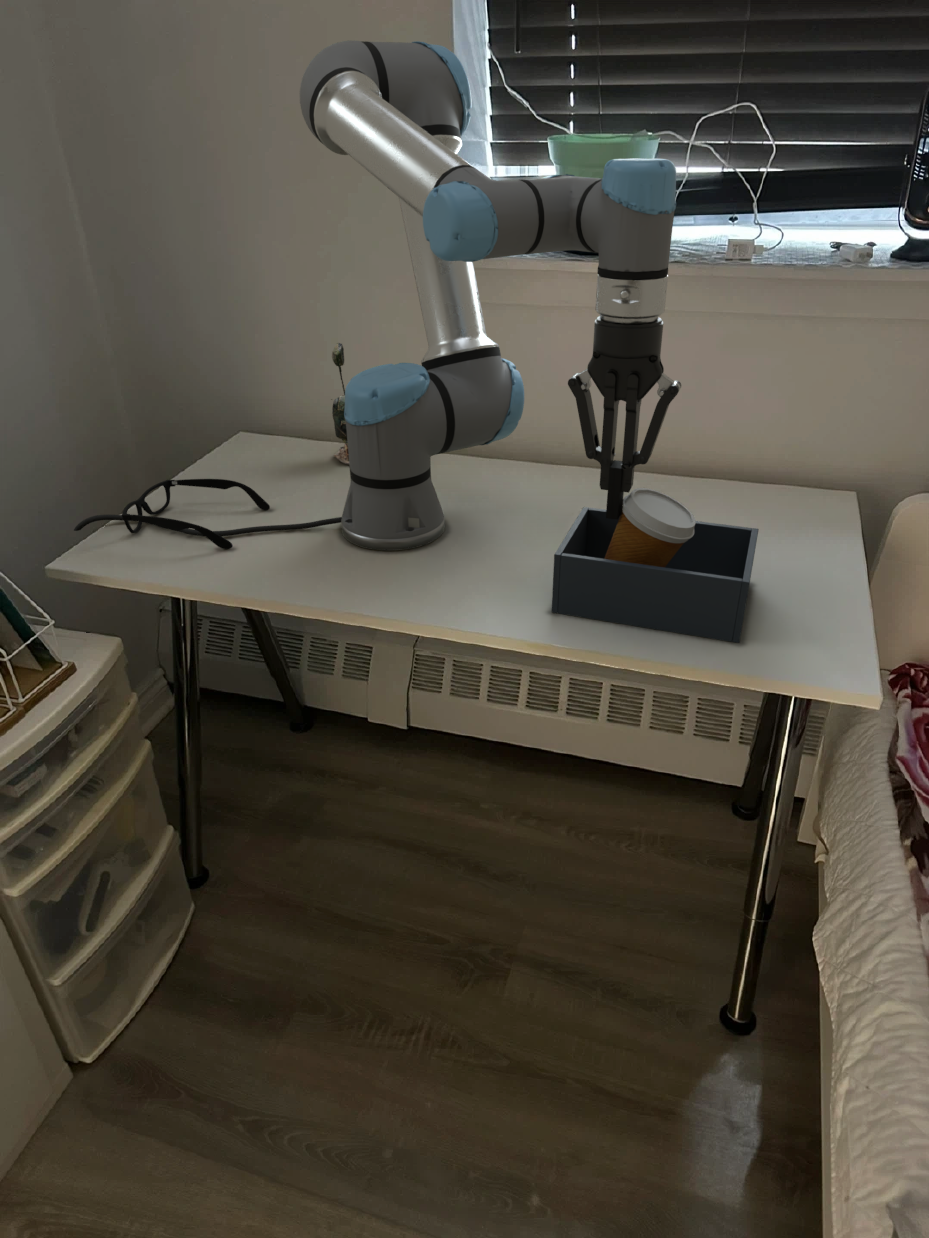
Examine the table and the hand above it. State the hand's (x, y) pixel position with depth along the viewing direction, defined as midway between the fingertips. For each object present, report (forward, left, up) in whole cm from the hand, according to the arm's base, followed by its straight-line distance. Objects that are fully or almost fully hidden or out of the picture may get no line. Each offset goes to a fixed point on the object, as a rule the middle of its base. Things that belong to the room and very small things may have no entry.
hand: (614, 514), depth 109 cm
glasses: (-63, +1, -11) cm, 64 cm away
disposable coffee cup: (+1, 0, -10) cm, 10 cm away
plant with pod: (-53, +35, -11) cm, 65 cm away
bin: (+6, 0, -11) cm, 12 cm away
